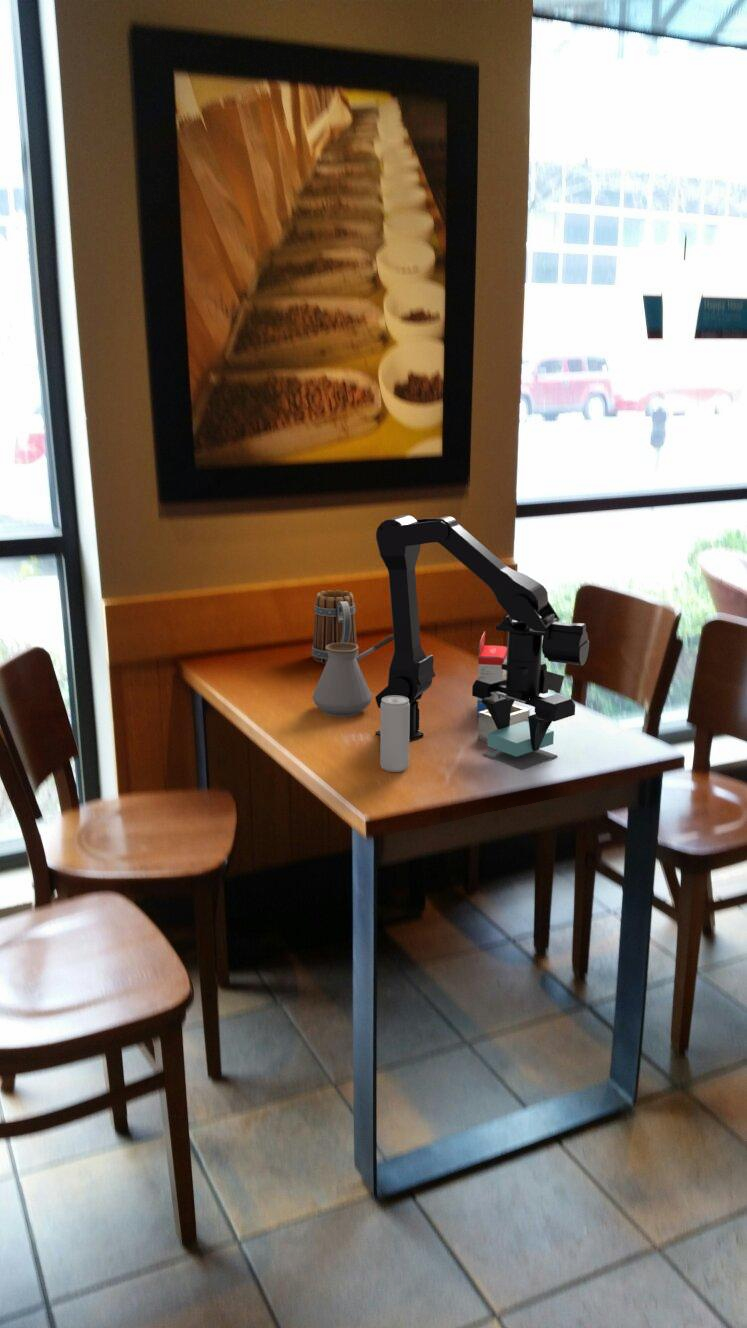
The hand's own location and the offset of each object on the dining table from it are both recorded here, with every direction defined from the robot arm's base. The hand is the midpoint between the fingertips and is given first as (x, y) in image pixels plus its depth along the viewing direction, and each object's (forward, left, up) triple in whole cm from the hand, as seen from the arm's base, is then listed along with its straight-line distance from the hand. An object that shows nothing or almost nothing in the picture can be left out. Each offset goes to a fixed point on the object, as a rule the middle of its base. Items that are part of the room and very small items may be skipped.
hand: (520, 745), depth 186 cm
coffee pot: (-3, +38, -2) cm, 38 cm away
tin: (+5, +8, -2) cm, 10 cm away
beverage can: (-20, +10, -2) cm, 22 cm away
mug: (+13, +66, -2) cm, 67 cm away
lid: (0, 0, +1) cm, 1 cm away
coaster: (0, 0, -2) cm, 2 cm away
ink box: (+15, +21, -2) cm, 26 cm away
